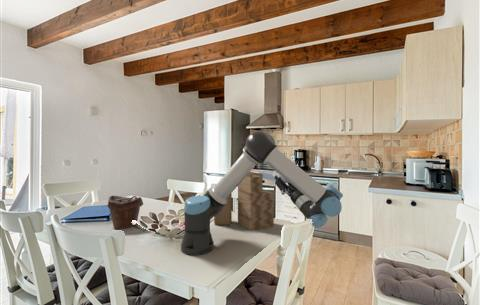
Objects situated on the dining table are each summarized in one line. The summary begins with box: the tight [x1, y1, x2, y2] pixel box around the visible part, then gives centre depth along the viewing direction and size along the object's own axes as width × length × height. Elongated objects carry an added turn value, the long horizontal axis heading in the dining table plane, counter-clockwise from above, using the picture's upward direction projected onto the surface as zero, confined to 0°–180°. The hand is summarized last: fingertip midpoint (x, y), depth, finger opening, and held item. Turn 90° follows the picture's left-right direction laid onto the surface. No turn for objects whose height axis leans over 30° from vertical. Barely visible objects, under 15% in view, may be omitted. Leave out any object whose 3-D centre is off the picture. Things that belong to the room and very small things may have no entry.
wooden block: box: [213, 192, 233, 226], centre depth 153 cm, size 10×10×20 cm
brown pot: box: [107, 195, 144, 229], centre depth 149 cm, size 18×20×18 cm
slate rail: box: [258, 171, 290, 184], centre depth 142 cm, size 4×26×4 cm, turn 27°
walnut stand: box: [237, 171, 275, 231], centre depth 151 cm, size 16×16×32 cm
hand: (276, 172), depth 139 cm, fingers closed on slate rail, 3 cm apart
